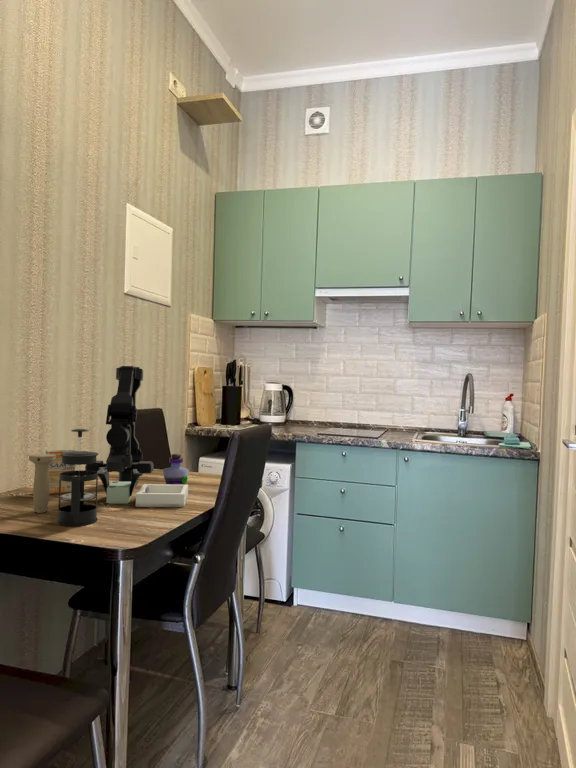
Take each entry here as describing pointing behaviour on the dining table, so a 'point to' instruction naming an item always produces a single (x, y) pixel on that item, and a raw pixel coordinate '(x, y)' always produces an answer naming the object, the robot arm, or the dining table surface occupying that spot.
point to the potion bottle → (175, 471)
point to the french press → (78, 488)
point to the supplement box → (56, 469)
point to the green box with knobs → (118, 492)
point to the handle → (41, 481)
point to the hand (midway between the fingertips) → (119, 496)
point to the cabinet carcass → (162, 495)
